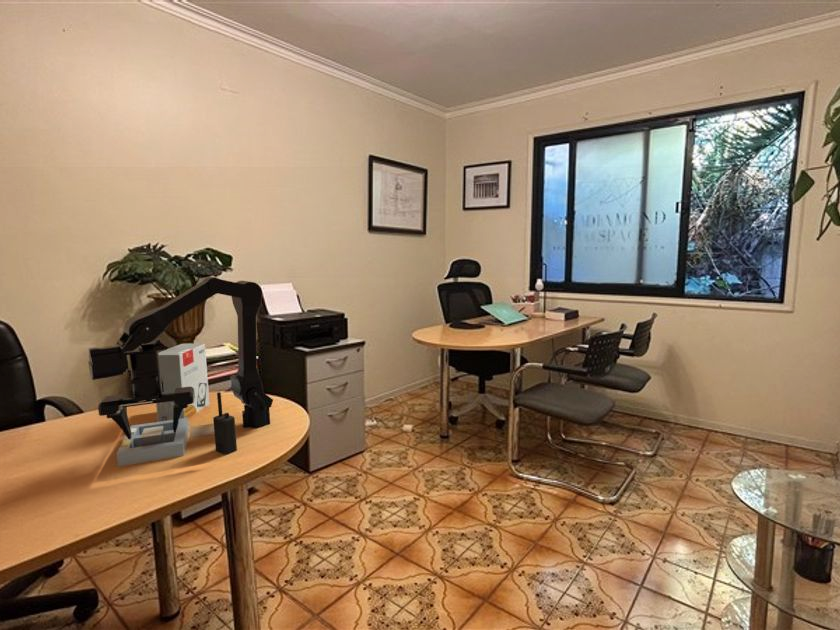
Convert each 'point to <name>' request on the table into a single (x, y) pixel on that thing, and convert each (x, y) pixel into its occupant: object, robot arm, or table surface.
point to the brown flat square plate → (202, 430)
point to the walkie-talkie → (224, 431)
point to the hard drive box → (183, 378)
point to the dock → (172, 447)
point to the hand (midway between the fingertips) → (152, 435)
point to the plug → (153, 436)
